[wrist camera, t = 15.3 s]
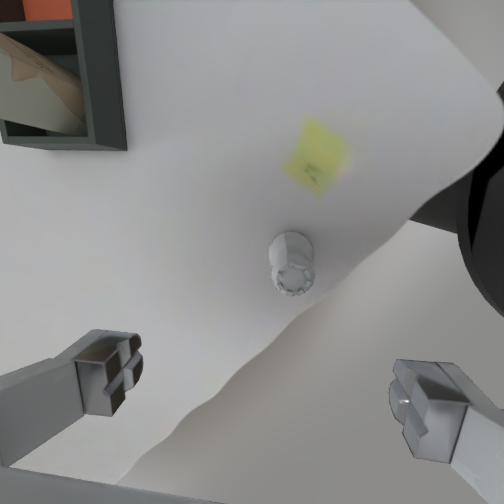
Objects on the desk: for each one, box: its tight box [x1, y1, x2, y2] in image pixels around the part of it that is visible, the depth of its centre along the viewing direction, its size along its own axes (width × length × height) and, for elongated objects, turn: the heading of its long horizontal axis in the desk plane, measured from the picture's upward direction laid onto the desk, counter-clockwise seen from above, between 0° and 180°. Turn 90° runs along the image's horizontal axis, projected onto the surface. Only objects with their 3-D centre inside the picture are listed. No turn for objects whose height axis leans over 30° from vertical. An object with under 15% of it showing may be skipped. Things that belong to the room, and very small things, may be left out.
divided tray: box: [0, 0, 127, 151], centre depth 22 cm, size 9×17×4 cm, turn 179°
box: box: [0, 33, 89, 137], centre depth 19 cm, size 5×4×11 cm
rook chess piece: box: [268, 232, 315, 296], centre depth 22 cm, size 4×4×8 cm
